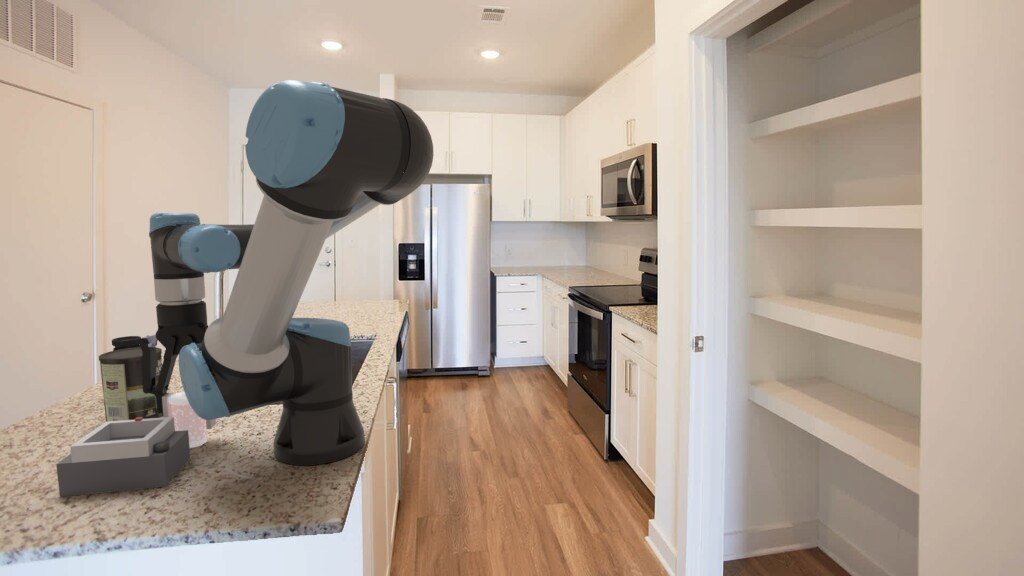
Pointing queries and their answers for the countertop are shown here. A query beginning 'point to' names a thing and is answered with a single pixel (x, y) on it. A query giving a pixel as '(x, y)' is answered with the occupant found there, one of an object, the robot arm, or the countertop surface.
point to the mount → (124, 457)
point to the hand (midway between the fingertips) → (190, 427)
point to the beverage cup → (188, 420)
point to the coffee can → (127, 385)
